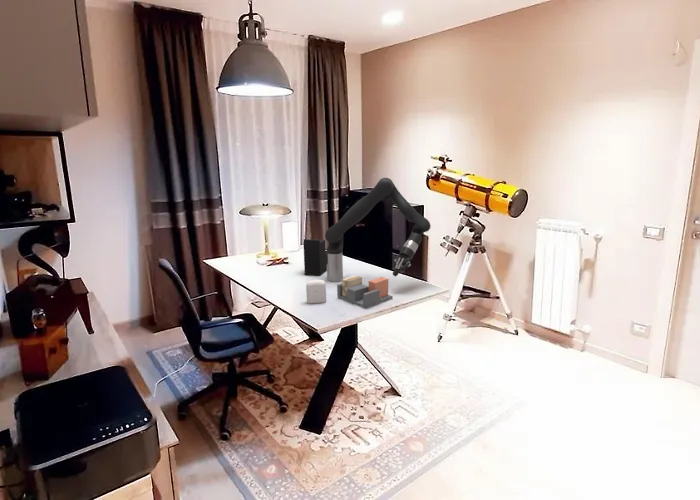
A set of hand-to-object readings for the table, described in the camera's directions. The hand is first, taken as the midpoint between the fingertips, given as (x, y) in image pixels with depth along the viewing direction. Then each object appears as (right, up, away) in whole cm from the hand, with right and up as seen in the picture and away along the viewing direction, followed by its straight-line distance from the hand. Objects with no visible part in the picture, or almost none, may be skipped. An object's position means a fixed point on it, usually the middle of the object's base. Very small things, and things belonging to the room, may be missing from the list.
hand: (394, 275), depth 235 cm
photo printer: (-42, -14, -9) cm, 45 cm away
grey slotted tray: (-16, -12, -4) cm, 21 cm away
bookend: (-45, 0, +47) cm, 65 cm away
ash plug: (-23, -10, -3) cm, 25 cm away
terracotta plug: (-9, -11, -6) cm, 15 cm away
